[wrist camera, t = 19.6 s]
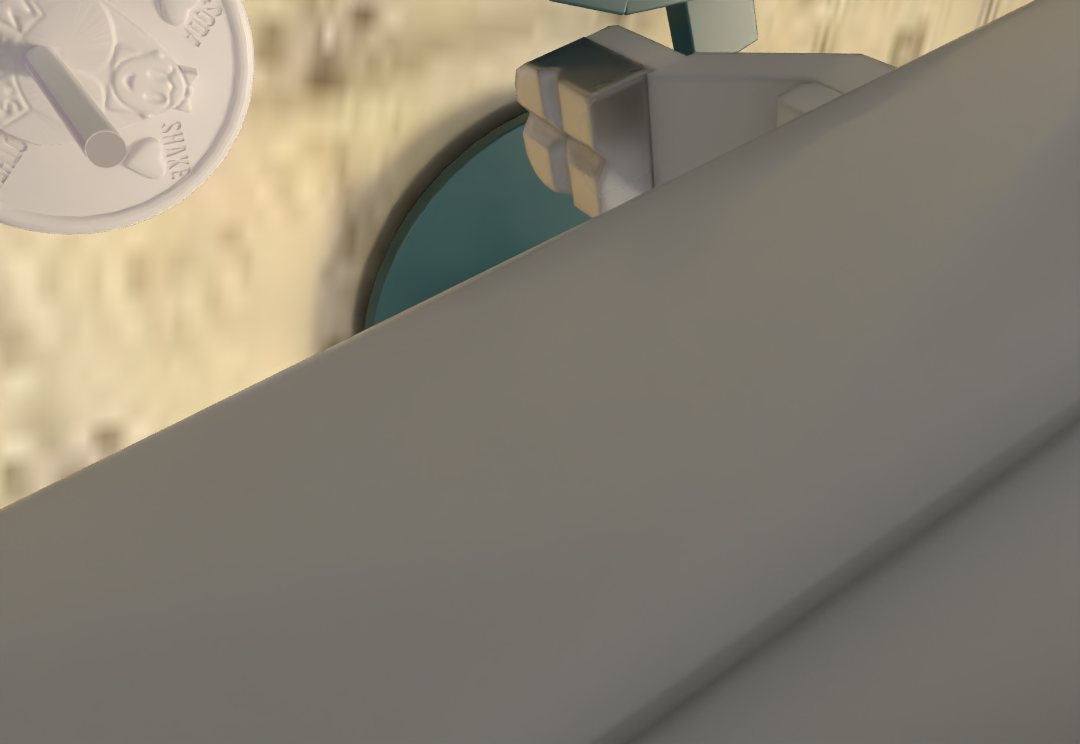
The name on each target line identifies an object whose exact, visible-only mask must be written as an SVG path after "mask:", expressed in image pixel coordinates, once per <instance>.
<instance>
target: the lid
mask: <svg viewBox="0 0 1080 744" xmlns="http://www.w3.org/2000/svg"><path fill="white" fill-rule="evenodd" d="M529 114H530V113H529V112H527V113H525V114H522V115H520V116H518V117H516V118H514V119H512V120H511V121H509V122H507V123H505V124H503V125H501V126H499V127H498V128H496V129H494V130H493V131H491V132H490V133H488V134H487V135H486V136H484V137H483V138H481V139H480V140H478V141H477V142H476V143H474V144H473V145H471V146H470V147H469V148H468V149H466V150H465V151H464V152H463V153H462V154H461V155H460V156H459V157H458V158H456V159H455V160H454V161H453V162H452V163H451V164H450V165H449V166H447V167H446V168H445V169H444V170H443V171H442V173H441V174H440V175H439V176H438V177H437V178H436V179H435V180H434V182H433V183H432V184H431V185H430V186H429V187H428V188H427V189H426V190H425V192H424V193H423V194H422V195H421V197H420V198H419V200H418V201H417V202H416V204H415V205H414V207H413V208H412V209H411V211H410V212H409V213H408V215H407V216H406V218H405V219H404V221H403V223H402V224H401V226H400V228H399V230H398V231H397V233H396V235H395V237H394V238H393V240H392V242H391V244H390V245H389V247H388V250H387V252H386V255H385V257H384V259H383V262H382V264H381V266H380V269H379V271H378V273H377V276H376V279H375V283H374V286H373V289H372V293H371V296H370V300H369V303H368V309H367V315H366V321H365V327H364V330H366V329H368V328H370V327H372V326H374V325H376V324H378V323H380V322H382V321H384V320H386V319H388V318H391V317H393V316H395V315H397V314H399V313H401V312H403V311H405V310H407V309H409V308H411V307H413V306H415V305H417V304H419V303H421V302H423V301H425V300H427V299H429V298H431V297H433V296H435V295H437V294H439V293H441V292H443V291H445V290H447V289H450V288H452V287H454V286H456V285H458V284H460V283H462V282H464V281H466V280H468V279H470V278H472V277H474V276H476V275H478V274H480V273H482V272H484V271H486V270H488V269H490V268H492V267H494V266H496V265H498V264H500V263H502V262H504V261H506V260H509V259H511V258H513V257H515V256H517V255H519V254H521V253H523V252H525V251H527V250H529V249H531V248H533V247H535V246H537V245H539V244H541V243H543V242H545V241H547V240H549V239H551V238H553V237H555V236H557V235H559V234H561V233H563V232H565V231H568V230H570V229H572V228H574V227H576V226H578V225H580V224H582V223H584V222H586V221H588V220H590V219H592V217H590V216H589V215H587V214H586V213H584V212H583V211H581V210H580V209H578V208H577V207H576V206H574V200H573V194H566V193H557V192H554V191H553V190H551V189H550V188H549V187H547V186H546V185H545V184H544V183H543V182H542V181H541V180H540V178H539V177H538V176H537V175H536V173H535V171H534V169H533V167H532V165H531V163H530V160H529V158H528V156H527V152H526V147H525V142H524V137H523V130H524V128H525V125H526V122H527V119H528V117H529Z"/></svg>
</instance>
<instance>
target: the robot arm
mask: <svg viewBox="0 0 1080 744" xmlns="http://www.w3.org/2000/svg"><path fill="white" fill-rule="evenodd" d="M515 88H516V95H517V102H518V103H519V104H520V105H522V106H523V107H524V108H525V109H526V110H527V111H528V112H529V113H530V114H529V117H528V119H527V122H526V125H525V128H524V130H523V137H524V142H525V147H526V152H527V156H528V158H529V160H530V163H531V165H532V167H533V169H534V171H535V173H536V175H537V176H538V177H539V178H540V180H541V181H542V182H543V183H544V184H545V185H546V186H547V187H549V188H550V189H551V190H553V191H554V192H557V193H566V194H573V200H574V206H576V207H577V208H578V209H580V210H581V211H583V212H584V213H586V214H587V215H589V216H590V217H592V219H590V220H588V221H586V222H584V223H582V224H580V225H578V226H576V227H574V228H572V229H570V230H568V231H565V232H563V233H561V234H559V235H557V236H555V237H553V238H551V239H549V240H547V241H545V242H543V243H541V244H539V245H537V246H535V247H533V248H531V249H529V250H527V251H525V252H523V253H521V254H519V255H517V256H515V257H513V258H511V259H509V260H506V261H504V262H502V263H500V264H498V265H496V266H494V267H492V268H490V269H488V270H486V271H484V272H482V273H480V274H478V275H476V276H474V277H472V278H470V279H468V280H466V281H464V282H462V283H460V284H458V285H456V286H454V287H452V288H450V289H447V290H445V291H443V292H441V293H439V294H437V295H435V296H433V297H431V298H429V299H427V300H425V301H423V302H421V303H419V304H417V305H415V306H413V307H411V308H409V309H407V310H405V311H403V312H401V313H399V314H397V315H395V316H393V317H391V318H388V319H386V320H384V321H382V322H380V323H378V324H376V325H374V326H372V327H370V328H368V329H366V330H364V331H362V332H360V333H358V334H356V335H354V336H352V337H350V338H348V339H346V340H344V341H342V342H340V343H338V344H336V345H334V346H332V347H329V348H327V349H325V350H323V351H321V352H319V353H317V354H315V355H313V356H311V357H309V358H307V359H305V360H303V361H301V362H299V363H297V364H295V365H293V366H291V367H289V368H287V369H285V370H283V371H281V372H279V373H277V374H275V375H273V376H271V377H268V378H266V379H264V380H262V381H260V382H258V383H256V384H254V385H252V386H250V387H248V388H246V389H244V390H242V391H240V392H238V393H236V394H234V395H232V396H230V397H228V398H226V399H224V400H222V401H220V402H218V403H216V404H214V405H212V406H209V407H207V408H205V409H203V410H201V411H199V412H197V413H195V414H193V415H191V416H189V417H187V418H185V419H183V420H181V421H179V422H177V423H175V424H173V425H171V426H169V427H167V428H165V429H163V430H161V431H159V432H157V433H155V434H153V435H150V436H148V437H146V438H144V439H142V440H140V441H138V442H136V443H134V444H132V445H130V446H128V447H126V448H124V449H122V450H120V451H118V452H116V453H114V454H112V455H110V456H108V457H106V458H104V459H102V460H100V461H98V462H96V463H94V464H91V465H89V466H87V467H85V468H83V469H81V470H79V471H77V472H75V473H73V474H71V475H69V476H67V477H65V478H63V479H61V480H59V481H57V482H55V483H53V484H51V485H49V486H47V487H45V488H43V489H41V490H39V491H37V492H35V493H32V494H30V495H28V496H26V497H24V498H22V499H20V500H18V501H16V502H14V503H12V504H10V505H8V506H6V507H4V508H2V509H0V744H1080V0H1034V1H1032V2H1030V3H1028V4H1026V5H1024V6H1022V7H1020V8H1018V9H1016V10H1014V11H1012V12H1010V13H1008V14H1006V15H1004V16H1002V17H1000V18H998V19H996V20H994V21H992V22H989V23H987V24H985V25H983V26H981V27H979V28H977V29H975V30H973V31H971V32H969V33H967V34H965V35H963V36H961V37H959V38H957V39H955V40H953V41H951V42H949V43H947V44H945V45H943V46H941V47H939V48H937V49H935V50H933V51H931V52H929V53H927V54H925V55H922V56H920V57H918V58H916V59H914V60H912V61H910V62H908V63H906V64H904V65H902V66H900V67H898V68H897V67H894V66H892V65H889V64H886V63H884V62H881V61H879V60H876V59H873V58H871V57H868V56H866V55H863V54H832V53H732V52H695V53H693V54H691V55H688V56H686V55H684V54H682V53H679V52H677V51H675V50H673V49H670V48H668V47H666V46H664V45H661V44H659V43H657V42H655V41H652V40H650V39H648V38H646V37H644V36H641V35H639V34H637V33H635V32H632V31H630V30H628V29H626V28H623V27H621V26H619V25H614V26H608V27H606V28H604V29H602V30H600V31H598V32H596V33H594V34H592V35H589V36H587V37H583V38H581V39H579V40H576V41H574V42H572V43H570V44H567V45H565V46H563V47H561V48H558V49H556V50H554V51H552V52H550V53H547V54H545V55H543V56H541V57H538V58H536V59H534V60H532V61H530V62H527V63H525V64H523V65H522V66H521V67H519V68H518V69H517V70H516V76H515Z"/></svg>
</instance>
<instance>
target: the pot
mask: <svg viewBox="0 0 1080 744" xmlns="http://www.w3.org/2000/svg"><path fill="white" fill-rule="evenodd" d="M549 1H553V2H558V3H563V4H568V5H573V6H578V7H583V8H588V9H593V10H598V11H603V12H608V13H613V14H618V15H623V14H624V15H630V14H634V13H639V12H643V11H648V10H652V9H657V8H662V7H666V11H667V16H668V21H669V27H670V32H671V37H672V42H673V48H674V50H675V51H677V52H679V53H682V54H684V55H686V56H688V55H691V54H693V53H695V52H732V53H738V52H739V51H741V50H742V49H744V48H745V47H747V46H748V45H750V44H751V43H753V42H754V41H756V40H757V39H758V33H757V25H756V16H755V8H754V0H549Z"/></svg>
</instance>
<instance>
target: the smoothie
mask: <svg viewBox="0 0 1080 744" xmlns="http://www.w3.org/2000/svg"><path fill="white" fill-rule="evenodd" d="M253 79H254V48H253V39H252V32H251V28H250V23H249V18H248V15H247V12H246V9H245V6H244V2H243V0H0V223H2V224H5V225H8V226H11V227H15V228H20V229H24V230H29V231H34V232H41V233H49V234H66V235H71V234H90V233H99V232H106V231H111V230H116V229H120V228H124V227H127V226H131V225H134V224H137V223H140V222H142V221H145V220H147V219H150V218H152V217H154V216H156V215H158V214H160V213H162V212H164V211H166V210H168V209H170V208H171V207H173V206H175V205H176V204H178V203H180V202H181V201H182V200H184V199H185V198H186V197H188V196H189V195H190V194H192V193H193V192H194V191H195V190H196V189H198V188H199V187H200V186H201V185H202V184H203V183H204V182H205V181H206V180H207V179H208V178H209V177H210V176H211V175H212V174H213V173H214V172H215V170H216V169H217V168H218V167H219V165H220V164H221V163H222V161H223V160H224V159H225V157H226V156H227V154H228V152H229V151H230V149H231V148H232V146H233V144H234V142H235V140H236V138H237V136H238V134H239V132H240V130H241V128H242V125H243V122H244V120H245V117H246V114H247V111H248V107H249V103H250V99H251V94H252V88H253Z"/></svg>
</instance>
